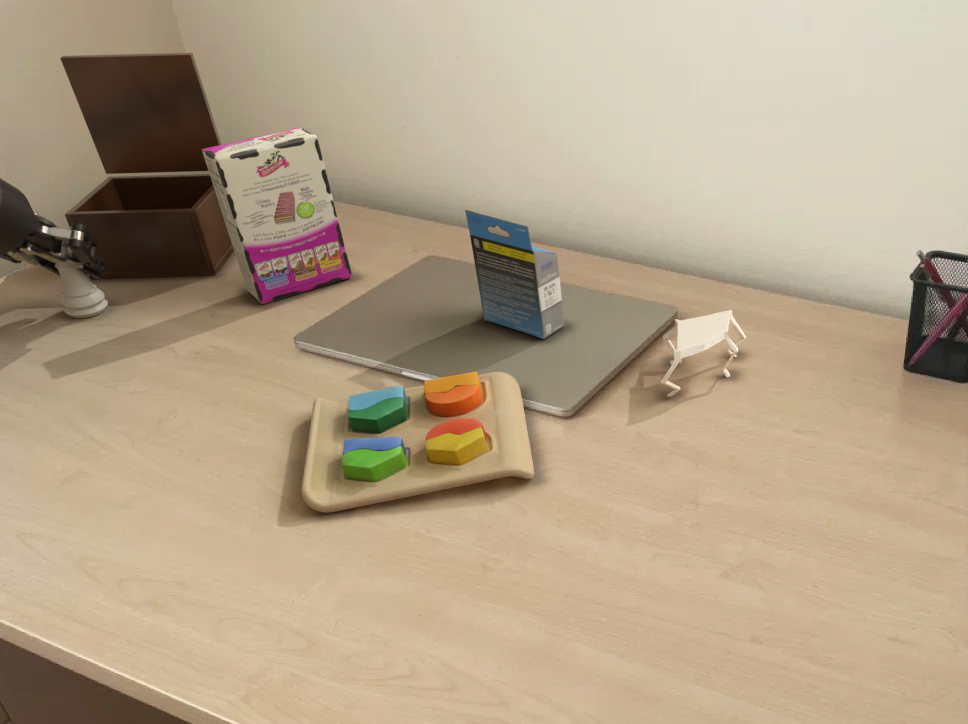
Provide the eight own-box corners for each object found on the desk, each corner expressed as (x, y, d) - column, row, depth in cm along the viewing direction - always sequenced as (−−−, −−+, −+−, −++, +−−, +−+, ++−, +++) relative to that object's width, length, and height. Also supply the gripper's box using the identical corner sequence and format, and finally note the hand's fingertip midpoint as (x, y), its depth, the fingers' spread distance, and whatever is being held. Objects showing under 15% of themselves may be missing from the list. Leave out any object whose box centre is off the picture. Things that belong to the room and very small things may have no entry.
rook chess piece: (118, 307, 118) (92, 238, 114) (81, 322, 115) (53, 252, 111) (93, 298, 120) (66, 230, 115) (57, 313, 117) (27, 244, 112)
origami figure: (672, 344, 110) (670, 300, 107) (750, 353, 108) (750, 309, 105) (635, 401, 101) (632, 355, 98) (720, 412, 99) (719, 366, 96)
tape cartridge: (567, 326, 114) (555, 214, 106) (543, 341, 111) (529, 227, 103) (505, 307, 117) (489, 197, 110) (481, 320, 115) (463, 209, 107)
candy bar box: (336, 265, 127) (301, 124, 117) (354, 278, 124) (320, 135, 114) (243, 292, 121) (199, 146, 111) (260, 306, 118) (215, 158, 108)
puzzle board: (319, 411, 100) (310, 379, 98) (520, 387, 103) (515, 355, 101) (304, 518, 87) (294, 483, 85) (536, 486, 90) (531, 452, 88)
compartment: (215, 275, 125) (195, 210, 120) (90, 279, 125) (64, 214, 120) (247, 234, 135) (229, 173, 130) (131, 237, 135) (108, 176, 130)
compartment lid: (190, 54, 121) (203, 41, 125) (59, 57, 120) (77, 44, 124) (227, 170, 130) (239, 154, 133) (106, 174, 129) (121, 158, 133)
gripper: (36, 165, 100) (150, 239, 117) (-101, 161, 101) (31, 235, 118) (24, 241, 99) (140, 305, 116) (-114, 235, 100) (21, 299, 117)
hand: (84, 269), depth 117 cm, fingers closed on rook chess piece, 3 cm apart
